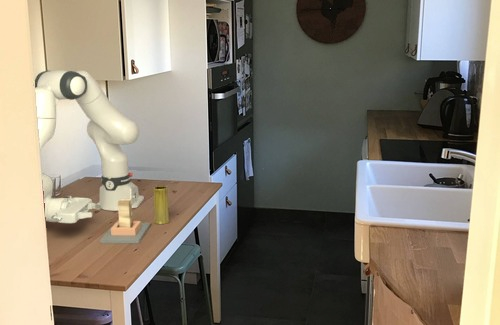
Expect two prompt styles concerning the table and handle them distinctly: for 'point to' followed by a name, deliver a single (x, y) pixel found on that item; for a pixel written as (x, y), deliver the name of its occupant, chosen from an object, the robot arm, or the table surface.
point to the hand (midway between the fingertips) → (96, 210)
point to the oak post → (125, 213)
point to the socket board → (126, 233)
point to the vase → (161, 205)
